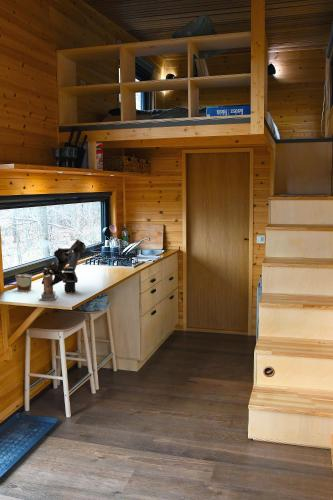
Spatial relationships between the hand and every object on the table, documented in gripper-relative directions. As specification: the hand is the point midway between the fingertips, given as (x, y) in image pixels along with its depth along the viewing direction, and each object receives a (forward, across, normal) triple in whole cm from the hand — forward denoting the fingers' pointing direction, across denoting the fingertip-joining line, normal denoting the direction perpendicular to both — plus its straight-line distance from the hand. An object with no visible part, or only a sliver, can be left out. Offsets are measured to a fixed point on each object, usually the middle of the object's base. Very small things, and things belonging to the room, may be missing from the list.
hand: (46, 285), depth 303 cm
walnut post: (+4, 0, +6) cm, 8 cm away
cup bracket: (+5, 0, +7) cm, 9 cm away
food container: (+2, -33, +10) cm, 35 cm away
